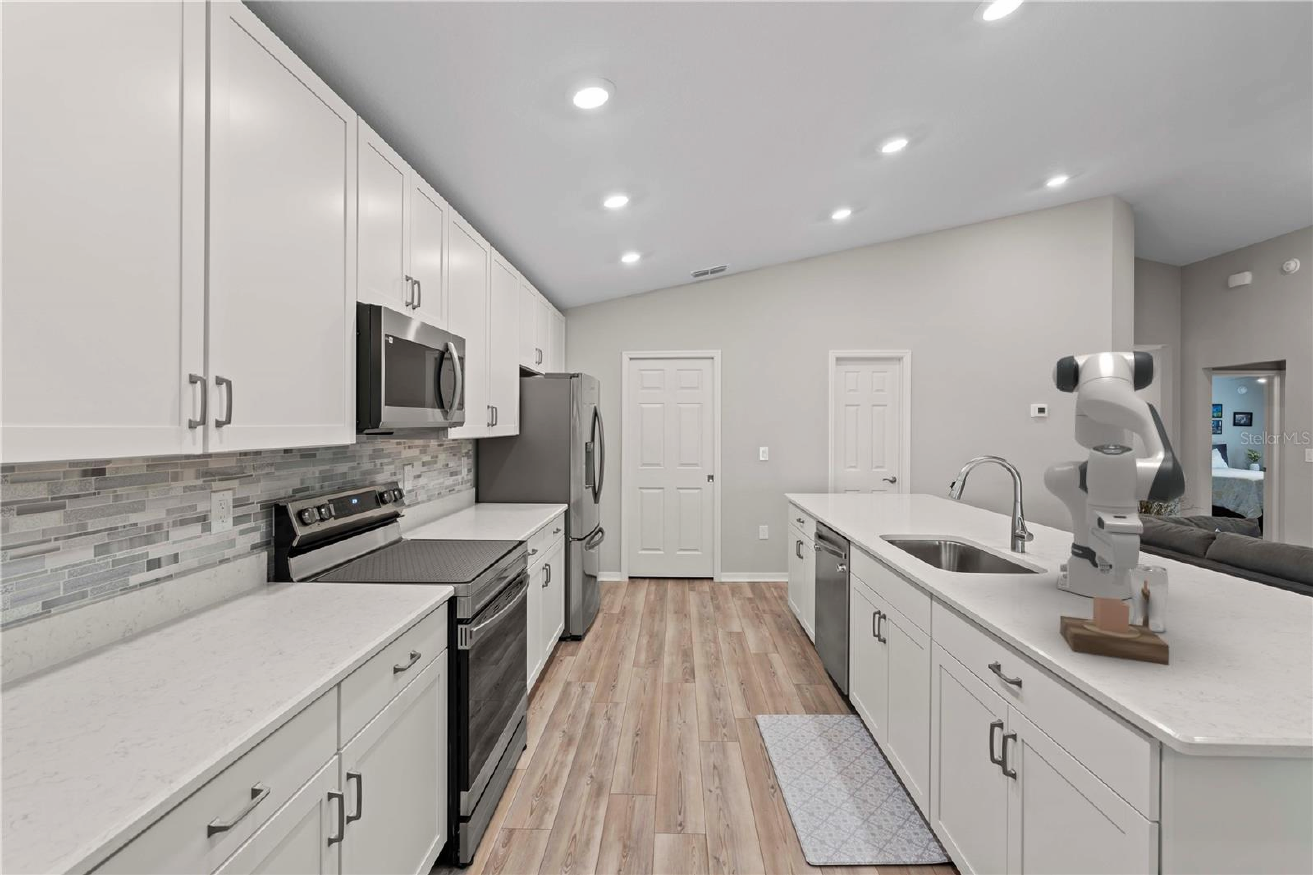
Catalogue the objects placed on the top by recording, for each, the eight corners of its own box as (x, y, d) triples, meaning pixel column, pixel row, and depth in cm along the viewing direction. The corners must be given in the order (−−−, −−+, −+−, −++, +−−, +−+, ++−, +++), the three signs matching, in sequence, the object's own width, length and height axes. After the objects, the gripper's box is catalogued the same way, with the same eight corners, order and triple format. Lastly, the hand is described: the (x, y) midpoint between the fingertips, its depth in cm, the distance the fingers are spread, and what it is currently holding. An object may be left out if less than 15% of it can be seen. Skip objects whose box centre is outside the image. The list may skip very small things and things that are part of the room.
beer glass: (1175, 634, 127) (1176, 571, 127) (1141, 632, 128) (1142, 570, 128) (1154, 623, 134) (1155, 564, 133) (1122, 622, 135) (1123, 563, 135)
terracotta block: (1093, 622, 123) (1093, 596, 123) (1120, 625, 121) (1121, 599, 121) (1100, 629, 119) (1100, 603, 119) (1128, 633, 117) (1129, 606, 117)
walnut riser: (1060, 632, 129) (1060, 614, 129) (1146, 643, 122) (1146, 624, 122) (1073, 651, 118) (1073, 631, 118) (1168, 664, 111) (1168, 643, 111)
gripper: (1080, 509, 130) (1080, 565, 131) (1107, 525, 112) (1107, 590, 112) (1113, 510, 128) (1113, 568, 128) (1146, 527, 109) (1146, 594, 110)
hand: (1110, 578), depth 120 cm, fingers open, 8 cm apart
